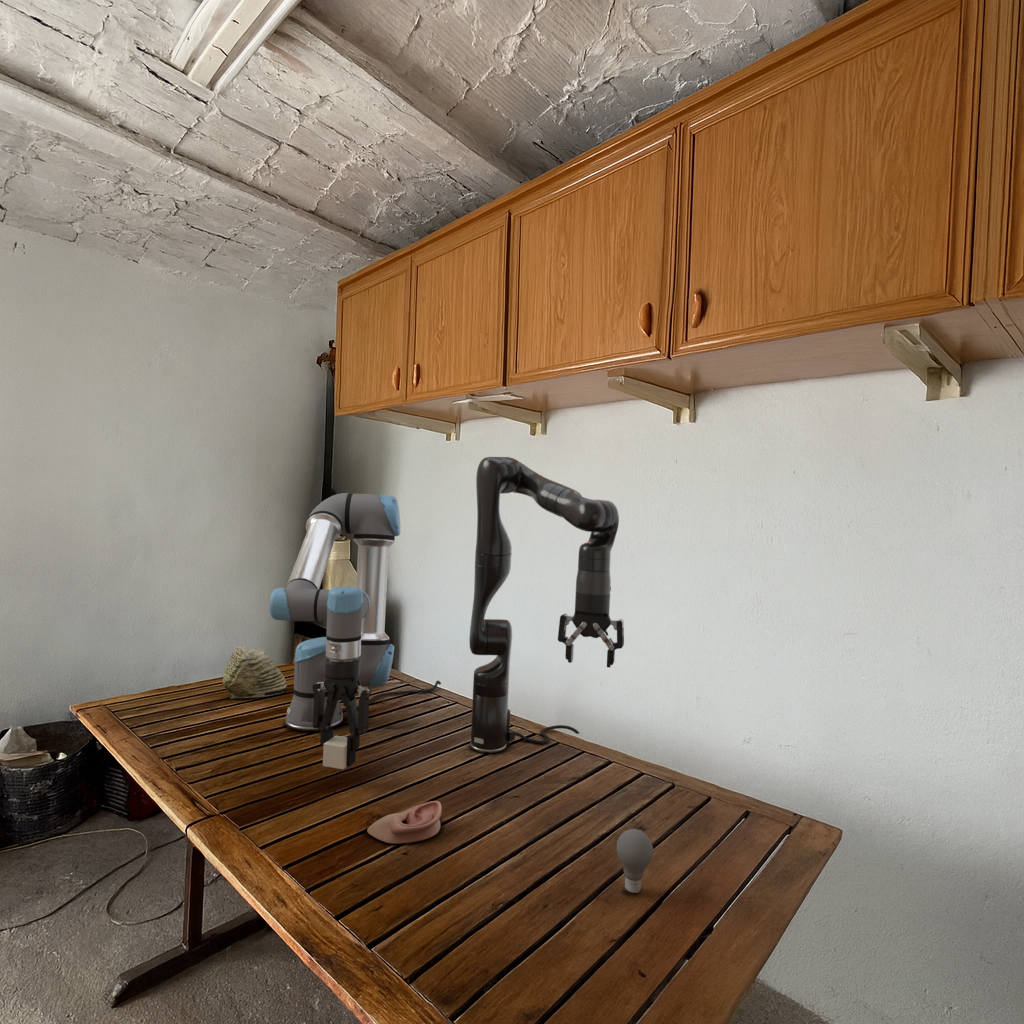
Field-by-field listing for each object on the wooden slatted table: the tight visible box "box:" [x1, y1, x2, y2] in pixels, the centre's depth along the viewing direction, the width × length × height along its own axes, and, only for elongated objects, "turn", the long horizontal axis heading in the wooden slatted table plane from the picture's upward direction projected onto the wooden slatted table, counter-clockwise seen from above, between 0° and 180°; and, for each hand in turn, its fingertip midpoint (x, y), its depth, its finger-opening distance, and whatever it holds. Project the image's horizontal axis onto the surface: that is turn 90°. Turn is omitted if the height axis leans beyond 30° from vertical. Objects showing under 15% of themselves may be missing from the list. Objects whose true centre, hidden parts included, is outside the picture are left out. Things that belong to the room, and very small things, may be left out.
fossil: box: [222, 646, 288, 699], centre depth 198 cm, size 9×18×15 cm, turn 132°
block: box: [322, 735, 348, 770], centre depth 140 cm, size 5×5×5 cm
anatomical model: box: [366, 800, 443, 845], centre depth 122 cm, size 13×4×12 cm
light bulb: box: [615, 828, 654, 894], centre depth 106 cm, size 6×6×10 cm
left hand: (339, 761), depth 140 cm, fingers closed on block, 5 cm apart
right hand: (589, 664), depth 139 cm, fingers open, 8 cm apart
